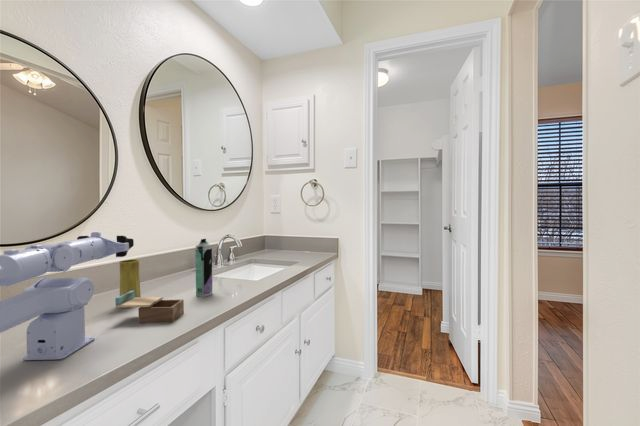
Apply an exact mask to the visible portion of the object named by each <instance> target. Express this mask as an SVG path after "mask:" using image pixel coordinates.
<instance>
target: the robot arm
mask: <svg viewBox="0 0 640 426" xmlns="http://www.w3.org/2000/svg"><path fill="white" fill-rule="evenodd" d="M134 245H135V243H134V238H128V237H127V236H126V235H116V241H115V240H112V239H111V238H107V237H104V236H102V232H100V231H92V232H91V233H90V236H88V235H80V236H77V238H76V239H74V240H67V241H63V242H62V241H61V242H58V243H53V244H29V245H28V246H26V247H25V248H24V249H22V250H19V249H17V248H16V249H6V250H3V254H0V287H9V286H13V285H15V284H19V283H22V282H25V281H28V280H30V279H33V278H37V277H40V276H43V275H44V274H47V273H57V272H58V273H60V272H63V273H65V272H67V271H68V270H70V269H71V267H72V266H76V265H79V264H83V263H87V262H92V261H94V260H95V261H96V260H101V259H105V258H107V257H109V256H112V255H115V257H116V258H122V257H125V256H127V254H128V252H129V250H131V249H132V248H133V247H134ZM94 293H95V285H94V282H93V281H92V279H91V278H90V277H86V276H85V277H84V276H82V277H68V278H67V277H63V278H60V277H59V278H57V277H56V278H55V277H54V278H50V277H42V278H40V279H38V280H37V281H35V282H34V283H33V284H32V285H31V286H28V287H25V288H23V291H22V293H20V294H17V295H14V296H11V297H8V298H6V299H2V300H0V334H1V333H4V332H6V331H8V330H10V329H12V328H14V327H16V326H19V325H22V324H23V323H26V322H27V321H30V320H32V319H34V320H32V321H31V322H30V323H29V324H28V326H27V328H26V356H24V357H22V360H23V361H40V360H41V361H43V360H44V361H46V360H48V361H49V360H51V361H52V360H63V359H64V358H66V357H68V356H70V355H72V354H73V353H74V352H76V351H78V350H79V349H81V348H83V347H84V346H86V345H87V344H90V343H91V342H92V341H94V340H95V339H96V336H86V322H85V321H86V320H85V319H86V318H85V317H86V316H85V315H86V314H85V306H86V305H89V303H90V301H91V299H92V298H93V296H94Z"/></svg>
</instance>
